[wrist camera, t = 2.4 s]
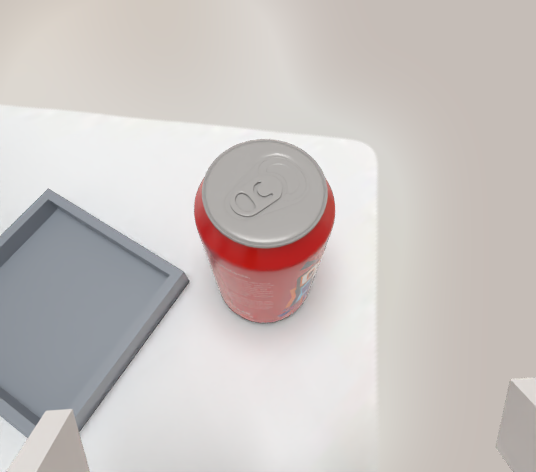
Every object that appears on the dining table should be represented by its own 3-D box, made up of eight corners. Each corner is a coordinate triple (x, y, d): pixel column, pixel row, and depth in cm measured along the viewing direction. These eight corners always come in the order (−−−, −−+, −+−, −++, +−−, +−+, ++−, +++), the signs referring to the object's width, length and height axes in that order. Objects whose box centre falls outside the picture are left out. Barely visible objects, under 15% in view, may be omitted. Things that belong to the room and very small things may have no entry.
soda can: (201, 272, 33) (158, 175, 20) (272, 224, 35) (277, 106, 22) (255, 345, 31) (248, 292, 17) (328, 288, 33) (373, 200, 19)
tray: (-73, 339, 30) (-100, 334, 28) (61, 202, 36) (48, 188, 34) (65, 450, 27) (47, 454, 25) (189, 281, 33) (183, 271, 30)
